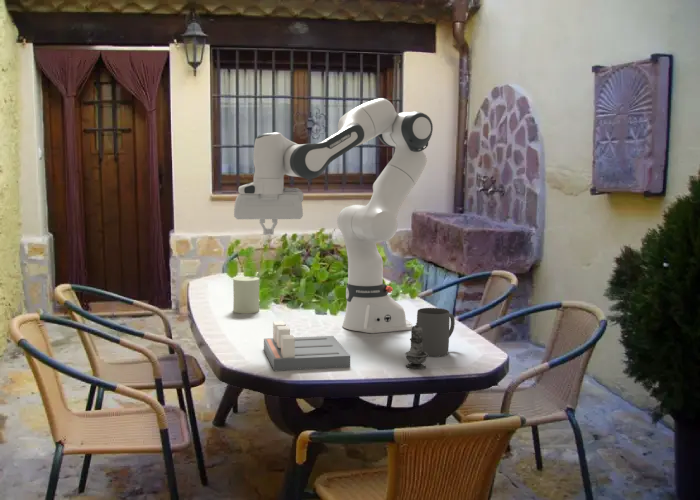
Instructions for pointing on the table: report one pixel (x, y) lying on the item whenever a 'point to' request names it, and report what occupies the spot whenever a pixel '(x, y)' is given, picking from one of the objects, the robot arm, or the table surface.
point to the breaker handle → (281, 333)
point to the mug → (435, 330)
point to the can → (246, 295)
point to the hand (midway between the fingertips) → (268, 234)
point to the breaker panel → (305, 352)
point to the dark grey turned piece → (416, 349)
